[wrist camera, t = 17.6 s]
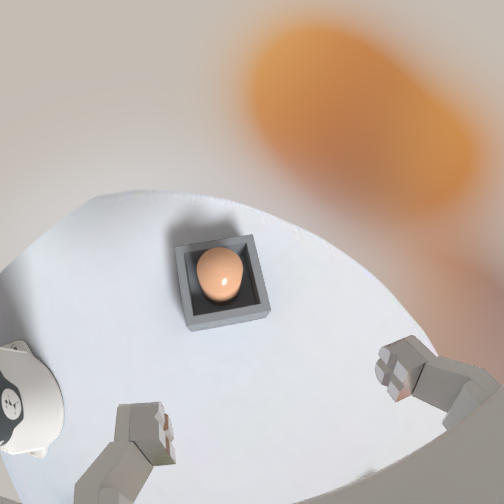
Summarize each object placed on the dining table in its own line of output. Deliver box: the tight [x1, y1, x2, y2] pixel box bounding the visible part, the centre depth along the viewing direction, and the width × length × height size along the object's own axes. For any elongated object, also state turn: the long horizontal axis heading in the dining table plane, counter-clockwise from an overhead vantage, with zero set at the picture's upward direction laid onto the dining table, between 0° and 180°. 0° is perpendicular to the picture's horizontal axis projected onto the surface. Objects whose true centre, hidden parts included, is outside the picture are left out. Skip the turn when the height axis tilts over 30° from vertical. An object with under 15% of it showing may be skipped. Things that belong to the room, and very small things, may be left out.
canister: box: [197, 247, 243, 306], centre depth 35 cm, size 5×5×8 cm
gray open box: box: [175, 234, 271, 332], centre depth 37 cm, size 10×10×5 cm
